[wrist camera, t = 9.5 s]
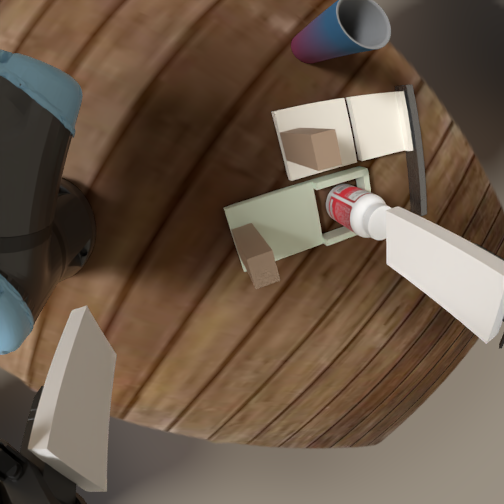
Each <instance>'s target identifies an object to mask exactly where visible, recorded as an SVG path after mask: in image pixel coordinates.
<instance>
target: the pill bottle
mask: <svg viewBox="0 0 504 504" xmlns="http://www.w3.org/2000/svg"><path fill="white" fill-rule="evenodd" d="M326 209H327V212H328V214H329V216H330V217H331V218H332V219H334V220H335V221H337V222H338V223H340V224H341V225H343V226H345V227H346V228H348V229H349V230H351V231H352V232H354V233H355V234H357V235H359V236H361V237H364V238H369V237H371V238H373V239H375V240H384V239H386V210H388V209H391V207H389V206H387V205H386V203H385V202H384V200H383V199H382V198H381V197H379V196H378V195H375V194H373V193H370V192H368V191H365V190H363V189H360V188H358V187H355V186H352V185H349V184H339V185H337V186H335V187H334V188H333V189H332V190H331V191H330V192H329V194H328V196H327V199H326Z"/></svg>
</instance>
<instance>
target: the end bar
mask: <svg viewBox="0 0 504 504" xmlns="http://www.w3.org/2000/svg"><path fill="white" fill-rule="evenodd" d="M395 90H396V92H398V91H404V95H405V100H406V105H407V111H408V117H409V123H410V130H411V137H412V144H413V151H406V158H407V167H408V177H409V189H410V204H411V212H413V213H416V214H418V215H420V216H423V215H425V214H427V202H426V182H425V169H424V158H423V148H422V140H421V132H420V125H419V118H418V112H417V106H416V101H415V96H414V90H413V86H412V85H400V86H395Z"/></svg>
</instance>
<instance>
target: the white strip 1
mask: <svg viewBox="0 0 504 504" xmlns="http://www.w3.org/2000/svg"><path fill="white" fill-rule="evenodd" d="M271 113H272V116H273V120H274V124H275V128H276V131H277V135H278V139H279V143H280V147H281V151H282V155H283V159H284V163H285V167H286V171H287V176H288V180H290V181H293V180H296V179H300V178H303V177H307V176H310V175H313V174H317V173H320V172H324V171H327V170H331V169H335V168H338V167H342V166H346V165H349V164H353V163H357V159H356V153H355V147H354V142H353V137H352V132H351V127H350V122H349V117H348V112H347V108H346V103H345V99H344V98H339V99H333V100H327V101H321V102H316V103H311V104H305V105H300V106H296V107H291V108H286V109H282V110H277V111H273V112H271Z"/></svg>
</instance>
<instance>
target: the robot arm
mask: <svg viewBox="0 0 504 504" xmlns="http://www.w3.org/2000/svg"><path fill="white" fill-rule="evenodd" d="M81 102H82V90H81V88H80V85H79V84H78V83H77V82H76V80H75V79H73V78H72V77H71V76H69V75H68V74H66V73H65V72H63V71H61V70H59V69H57V68H55V67H53V66H51V65H49V64H47V63H44V62H42V61H39V60H37V59H34V58H31V57H28V56H25V55H22V54H18V53H15V54H12V53H11V52H7V51H4V50H1V49H0V355H3V354H8V353H10V352H12V351H15V350H17V349H18V348H19V347H20V346H21V344H22V343H23V341H24V340H25V339H26V337H27V336H28V335H29V334H30V333H31V331H32V329H33V325H34V323H35V321H36V320H37V318H38V316H39V314H40V312H41V311H42V309H43V307H44V305H45V304H46V302H47V300H48V298H49V297H50V295H51V293H52V292H53V290H54V288H55V287H56V285H57V283H58V282H61V281H63V280H65V279H67V278H69V277H71V276H73V275H74V274H76V273H77V272H78V271H79V270H80V269H81V268H82V267H83V266H84V264H85V263H86V261H87V259H88V258H89V256H90V254H91V252H92V250H93V247H94V243H95V238H96V224H95V218H94V215H93V211H92V209H91V206H90V204H89V202H88V201H87V199H86V198H85V196H84V195H83V194H82V192H81V191H80V190H79V189H78V188H77V187H76V186H74V185H73V184H72V183H70V182H68V181H66V180H64V179H62V174H63V169H64V165H65V161H66V157H67V153H68V149H69V146H70V142H71V139H72V137H74V135H75V128H74V127H75V123H76V120H77V116H78V113H79V109H80V106H81ZM386 242H387V265H389V266H390V267H391V268H393V269H394V270H395V271H397V272H398V273H399V274H401V275H402V276H403V277H405V278H406V279H407V280H409V281H410V282H411V283H413V284H414V285H415V286H416V287H418V288H419V289H420V290H422V291H423V292H424V293H425V294H427V295H428V296H429V297H431V298H432V299H433V300H434V301H436V302H437V303H438V304H439V305H441V306H442V307H443V308H444V309H446V310H447V311H448V312H449V313H450V314H452V315H453V316H454V317H455V318H457V319H458V320H459V321H460V322H461V323H463V324H464V325H465V326H466V327H467V328H469V329H470V330H471V331H472V332H473V333H474V334H476V335H477V336H478V337H479V338H480V339H482V340H483V341H484V342H485V343H488V342H489V341H490V340H491V339H493V338H494V337H495V336H496V335H497V334H498V332H499V329H500V326H501V323H502V321H504V259H503V258H501V257H499V256H497V255H496V256H495V254H494V253H492V252H490V251H487V249H485V248H483V247H482V246H480V245H478V244H475V243H471V242H469V241H468V240H466V239H464V238H462V237H460V236H458V235H456V234H454V233H452V232H450V231H448V230H446V229H445V228H443V227H441V226H439V225H437V224H435V223H432V222H430V221H428V220H426V219H424V218H422V217H420V216H418V215H416V214H414V213H412V212H409V211H407V210H405V209H403V208H401V207H395V208H391V209H388V210H386ZM503 344H504V334H503V336H502V339H501V341H500V344H499V348H502V346H503ZM116 356H117V355H116V353H115V352H114V350H113V348H112V347H111V345H110V344H109V342H108V341H107V339H106V337H105V336H104V334H103V332H102V331H101V329H100V328H99V326H98V324H97V322H96V321H95V319H94V317H93V316H92V314H91V312H90V310H89V309H88V307H87V306H84V307H81V308H78V309H75V310H72V312H71V314H70V316H69V319H68V321H67V324H66V326H65V329H64V331H63V334H62V336H61V339H60V341H59V344H58V347H57V349H56V352H55V355H54V358H53V360H52V363H51V366H50V369H49V372H48V375H47V378H46V381H45V384H44V386H41V388H40V389H39V391H38V392H37V394H36V395H35V397H34V400H33V403H32V407H31V411H30V414H29V417H28V419H29V421H27V425H26V429H25V432H24V437H23V441H22V445H21V450H20V453H19V452H18V451H17V450H16V449H14V448H13V447H12V446H11V445H10V444H9V443H7V442H6V441H5V440H3V439H1V438H0V504H87V503H86V502H85V500H84V499H83V498H82V497H81V496H80V495H79V494H78V493H76V485H78V486H79V487H81V488H82V489H84V490H86V491H87V492H103V491H105V492H106V491H107V449H108V447H107V446H108V431H109V417H110V406H111V396H112V387H113V378H114V370H115V363H116Z"/></svg>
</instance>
